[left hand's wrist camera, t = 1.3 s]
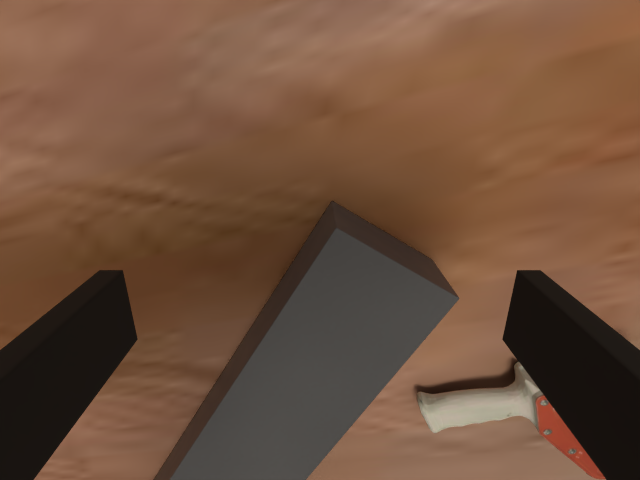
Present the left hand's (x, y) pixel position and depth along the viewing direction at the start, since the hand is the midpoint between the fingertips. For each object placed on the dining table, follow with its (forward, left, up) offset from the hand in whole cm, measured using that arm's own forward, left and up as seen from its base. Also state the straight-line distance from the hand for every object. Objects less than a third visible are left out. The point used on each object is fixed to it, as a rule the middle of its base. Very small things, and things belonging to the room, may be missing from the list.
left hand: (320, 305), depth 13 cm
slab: (-14, -38, -18) cm, 44 cm away
